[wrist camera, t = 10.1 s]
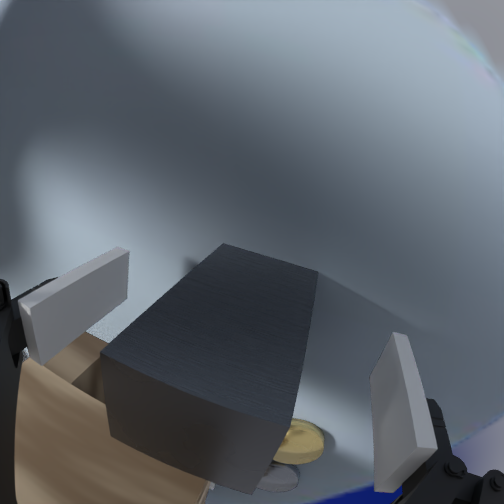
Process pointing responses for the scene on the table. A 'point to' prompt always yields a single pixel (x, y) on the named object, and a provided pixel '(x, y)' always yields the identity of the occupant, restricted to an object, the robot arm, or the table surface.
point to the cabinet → (84, 440)
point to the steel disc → (279, 477)
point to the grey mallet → (213, 368)
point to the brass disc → (301, 443)
